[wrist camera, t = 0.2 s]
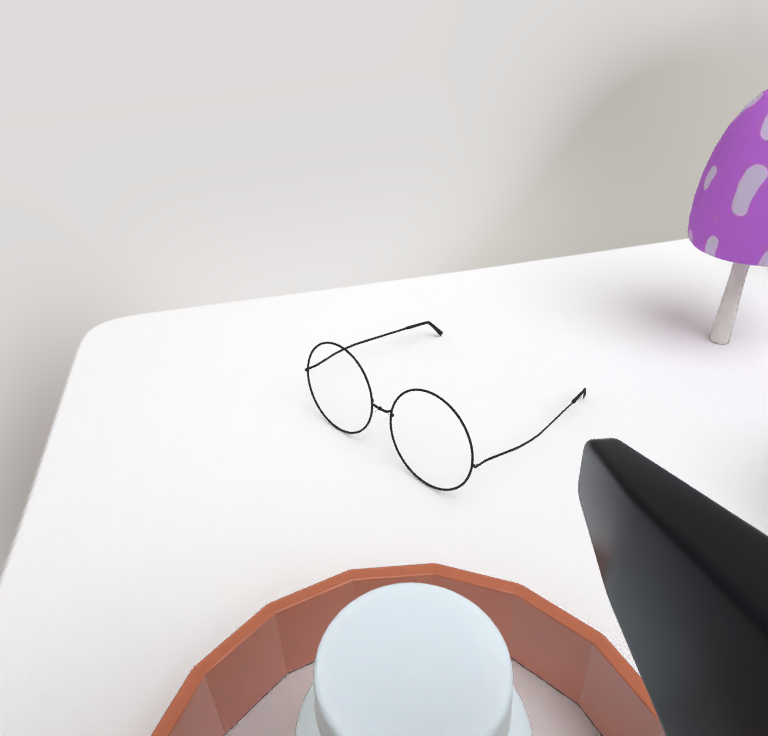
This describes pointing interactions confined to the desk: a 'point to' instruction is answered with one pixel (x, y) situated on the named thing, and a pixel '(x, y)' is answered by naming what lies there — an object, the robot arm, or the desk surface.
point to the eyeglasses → (415, 390)
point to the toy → (735, 206)
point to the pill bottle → (412, 670)
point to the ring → (492, 595)
